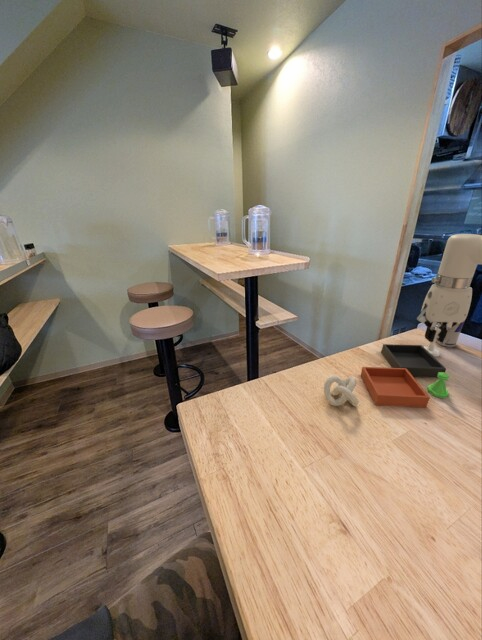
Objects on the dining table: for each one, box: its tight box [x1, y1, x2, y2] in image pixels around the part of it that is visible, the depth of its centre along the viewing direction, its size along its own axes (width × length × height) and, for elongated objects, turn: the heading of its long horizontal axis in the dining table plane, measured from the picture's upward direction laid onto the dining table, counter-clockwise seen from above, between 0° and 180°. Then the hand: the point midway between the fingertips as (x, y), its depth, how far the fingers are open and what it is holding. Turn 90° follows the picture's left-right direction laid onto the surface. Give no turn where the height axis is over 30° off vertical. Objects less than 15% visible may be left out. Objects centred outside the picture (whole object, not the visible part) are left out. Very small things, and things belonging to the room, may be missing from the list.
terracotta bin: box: [360, 366, 431, 408], centre depth 63 cm, size 11×11×3 cm
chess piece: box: [423, 322, 441, 357], centre depth 76 cm, size 5×5×10 cm
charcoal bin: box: [380, 343, 447, 379], centre depth 73 cm, size 11×12×3 cm
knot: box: [323, 375, 360, 407], centre depth 60 cm, size 8×8×6 cm
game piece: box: [427, 371, 450, 399], centre depth 61 cm, size 4×4×6 cm
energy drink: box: [435, 321, 465, 348], centre depth 81 cm, size 5×5×12 cm
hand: (433, 339), depth 77 cm, fingers closed on chess piece
